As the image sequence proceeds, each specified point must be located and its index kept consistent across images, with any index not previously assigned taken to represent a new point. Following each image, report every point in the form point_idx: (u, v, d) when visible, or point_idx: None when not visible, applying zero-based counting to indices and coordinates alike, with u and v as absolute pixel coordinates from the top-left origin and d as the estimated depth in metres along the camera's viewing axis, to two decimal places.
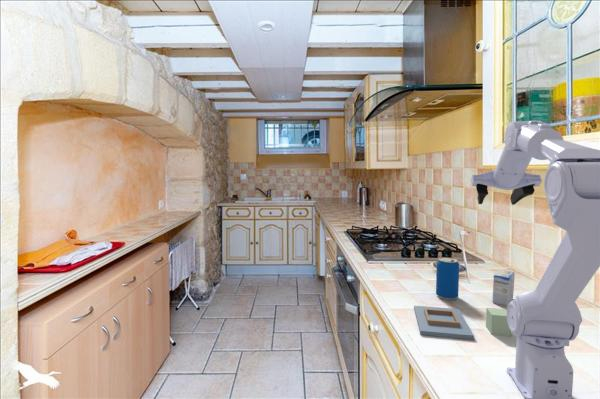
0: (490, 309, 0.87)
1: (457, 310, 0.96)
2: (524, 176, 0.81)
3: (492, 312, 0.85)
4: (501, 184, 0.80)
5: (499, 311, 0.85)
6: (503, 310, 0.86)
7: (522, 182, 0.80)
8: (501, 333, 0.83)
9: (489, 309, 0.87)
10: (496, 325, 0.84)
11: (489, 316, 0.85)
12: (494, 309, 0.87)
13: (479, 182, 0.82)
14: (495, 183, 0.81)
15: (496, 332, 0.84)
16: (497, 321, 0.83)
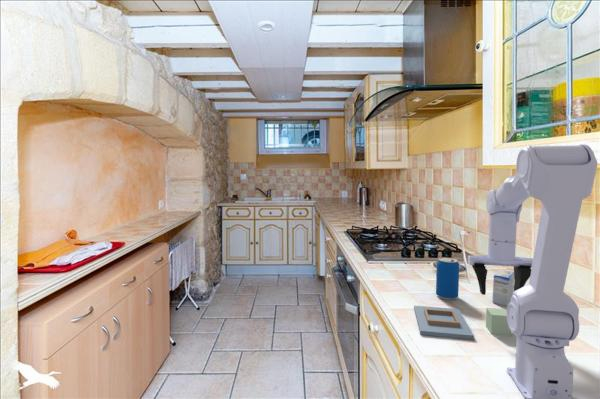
0: (490, 309, 0.87)
1: (457, 310, 0.96)
2: (518, 259, 0.84)
3: (492, 312, 0.85)
4: (497, 257, 0.82)
5: (499, 311, 0.85)
6: (503, 310, 0.86)
7: None
8: (501, 333, 0.83)
9: (489, 309, 0.87)
10: (496, 325, 0.84)
11: (489, 316, 0.85)
12: (494, 309, 0.87)
13: (476, 258, 0.84)
14: (491, 259, 0.83)
15: (496, 332, 0.84)
16: (497, 321, 0.83)
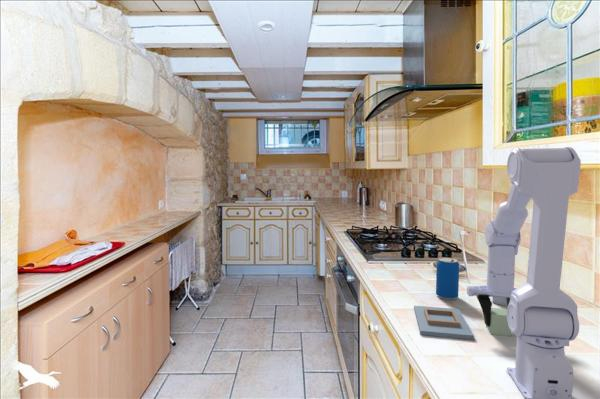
0: None
1: (457, 310, 0.96)
2: None
3: (492, 311, 0.85)
4: (496, 290, 0.83)
5: (499, 311, 0.85)
6: (503, 310, 0.86)
7: None
8: (501, 333, 0.83)
9: None
10: (496, 325, 0.84)
11: None
12: (494, 309, 0.87)
13: (474, 290, 0.85)
14: (490, 291, 0.84)
15: (496, 332, 0.84)
16: (497, 321, 0.83)
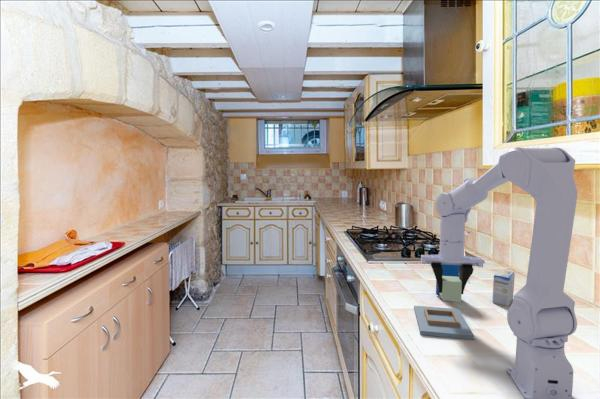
0: (443, 276, 0.90)
1: (457, 310, 0.96)
2: None
3: (444, 278, 0.89)
4: (446, 257, 0.86)
5: (451, 278, 0.89)
6: (455, 277, 0.90)
7: None
8: (452, 298, 0.87)
9: (442, 276, 0.90)
10: (446, 291, 0.87)
11: None
12: (447, 276, 0.90)
13: (427, 258, 0.89)
14: (441, 258, 0.87)
15: (447, 297, 0.87)
16: (448, 287, 0.87)
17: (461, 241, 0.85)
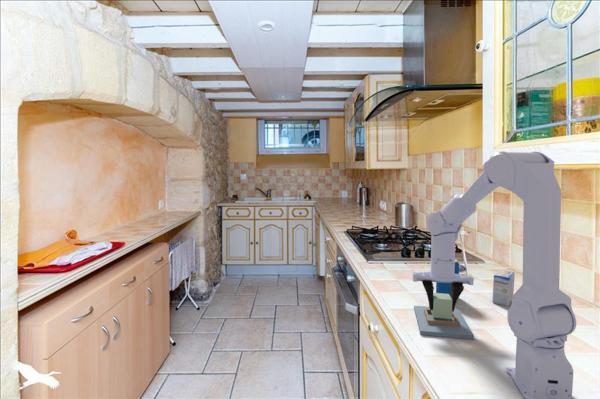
0: (434, 294, 0.91)
1: (457, 310, 0.96)
2: None
3: (435, 296, 0.90)
4: (437, 275, 0.87)
5: (442, 295, 0.90)
6: (446, 295, 0.91)
7: None
8: (442, 316, 0.88)
9: (433, 294, 0.91)
10: (437, 308, 0.88)
11: None
12: (438, 294, 0.91)
13: (418, 276, 0.90)
14: (432, 276, 0.88)
15: (438, 315, 0.88)
16: (439, 304, 0.88)
17: (452, 260, 0.87)
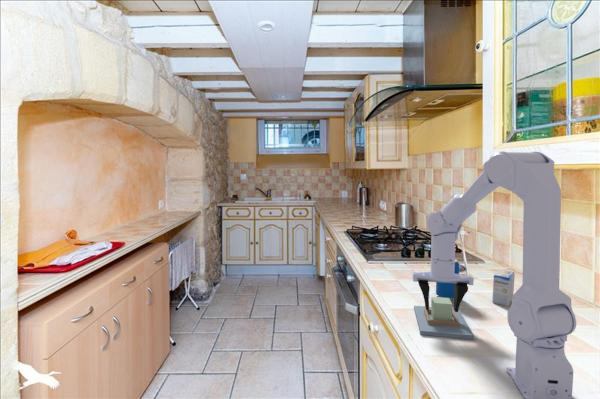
0: (434, 298, 0.92)
1: None
2: None
3: (435, 300, 0.90)
4: (437, 275, 0.87)
5: (442, 299, 0.90)
6: (446, 299, 0.91)
7: None
8: None
9: (433, 298, 0.92)
10: (437, 312, 0.88)
11: (432, 305, 0.90)
12: (438, 298, 0.92)
13: (418, 276, 0.90)
14: (432, 276, 0.88)
15: (438, 319, 0.89)
16: (439, 309, 0.88)
17: (452, 260, 0.87)
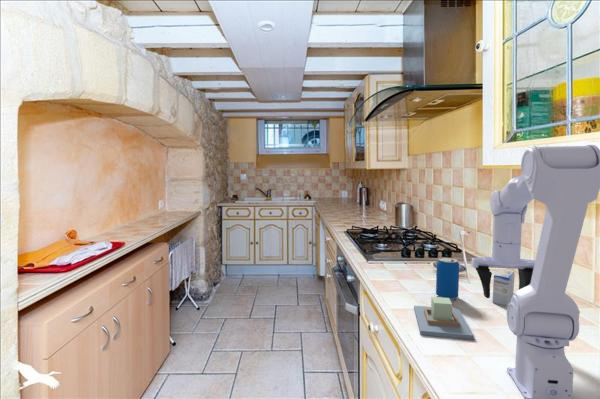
0: (434, 298, 0.92)
1: (457, 310, 0.96)
2: None
3: (435, 300, 0.90)
4: (502, 260, 0.80)
5: (442, 299, 0.90)
6: (446, 299, 0.91)
7: None
8: None
9: (433, 298, 0.92)
10: (437, 312, 0.88)
11: (432, 305, 0.90)
12: (438, 298, 0.92)
13: (480, 261, 0.82)
14: (496, 261, 0.81)
15: (438, 319, 0.89)
16: (439, 309, 0.88)
17: (514, 243, 0.79)
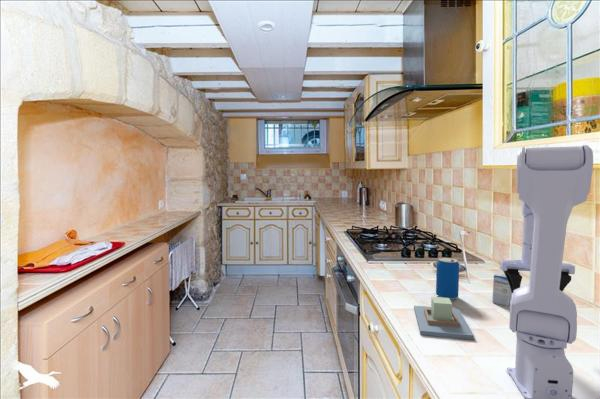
0: (434, 298, 0.92)
1: (457, 310, 0.96)
2: None
3: (435, 300, 0.90)
4: None
5: (442, 299, 0.90)
6: (446, 299, 0.91)
7: None
8: None
9: (433, 298, 0.92)
10: (437, 312, 0.88)
11: (432, 305, 0.90)
12: (438, 298, 0.92)
13: (509, 264, 0.79)
14: (526, 264, 0.78)
15: (438, 319, 0.89)
16: (439, 309, 0.88)
17: None
